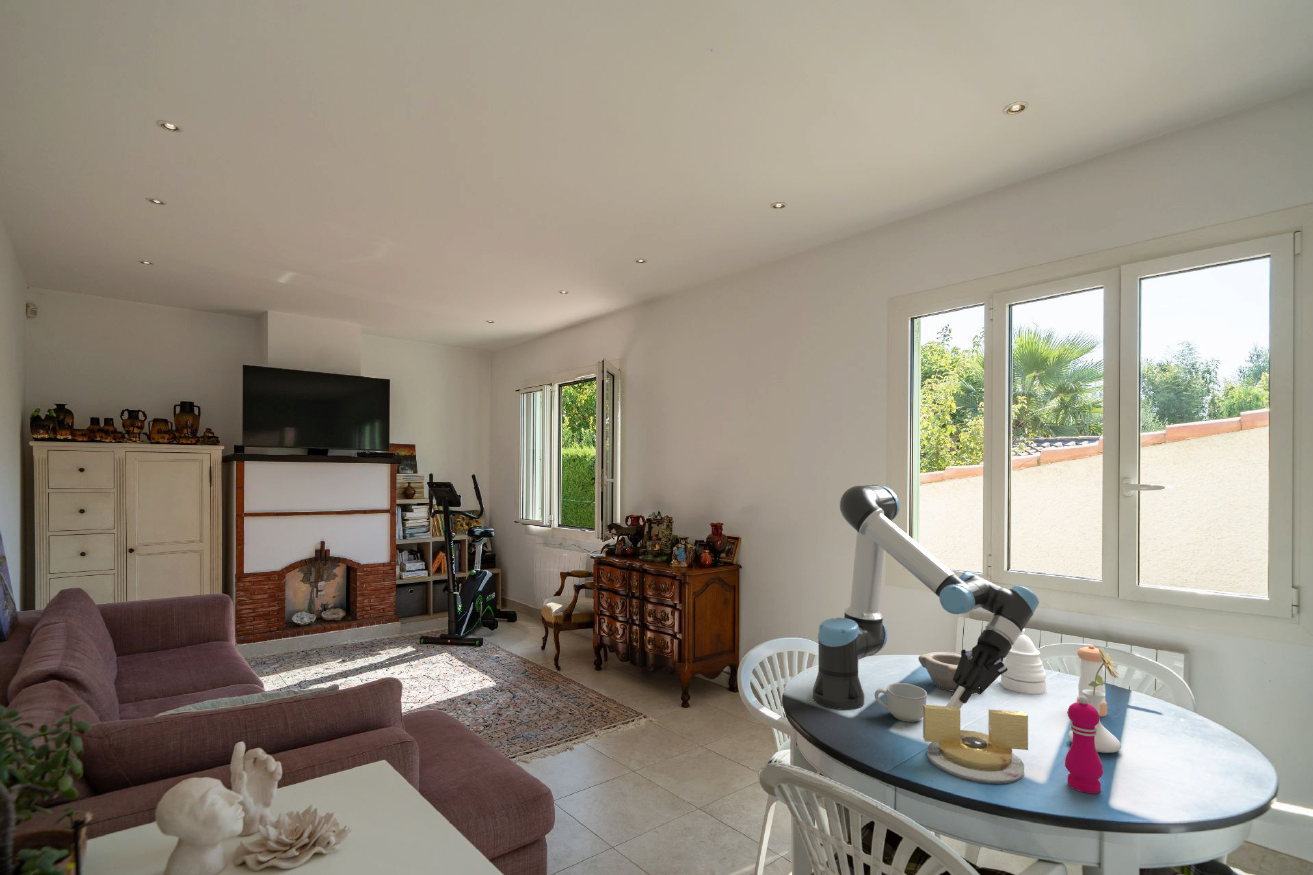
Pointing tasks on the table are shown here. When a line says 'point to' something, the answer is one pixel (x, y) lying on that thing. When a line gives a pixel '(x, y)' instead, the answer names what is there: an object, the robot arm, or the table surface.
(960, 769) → the silver round plate
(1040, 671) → the honey pot
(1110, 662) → the flower in vase
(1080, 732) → the pepper mill
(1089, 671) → the salt shaker
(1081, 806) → the table surface
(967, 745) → the gold twin-plate stand
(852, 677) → the robot arm
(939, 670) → the mortar
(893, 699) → the teacup
